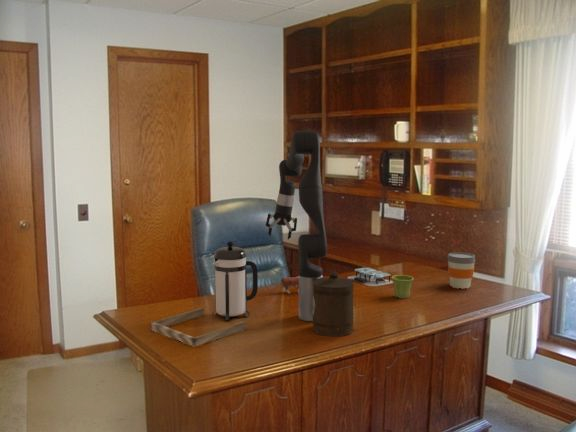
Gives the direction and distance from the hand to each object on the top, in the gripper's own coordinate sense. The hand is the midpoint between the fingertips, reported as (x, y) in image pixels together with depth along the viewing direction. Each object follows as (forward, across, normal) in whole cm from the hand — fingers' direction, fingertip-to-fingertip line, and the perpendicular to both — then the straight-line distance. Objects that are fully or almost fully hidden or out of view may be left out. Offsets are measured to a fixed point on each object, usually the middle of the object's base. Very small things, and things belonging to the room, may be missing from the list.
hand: (279, 237), depth 268 cm
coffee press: (+23, -12, -45) cm, 52 cm away
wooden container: (+16, +26, -60) cm, 68 cm away
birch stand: (+23, -23, -62) cm, 70 cm away
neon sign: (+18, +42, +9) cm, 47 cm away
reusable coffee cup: (+10, +88, +3) cm, 89 cm away
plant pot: (+14, +58, -16) cm, 62 cm away
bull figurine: (+22, +12, -12) cm, 27 cm away
